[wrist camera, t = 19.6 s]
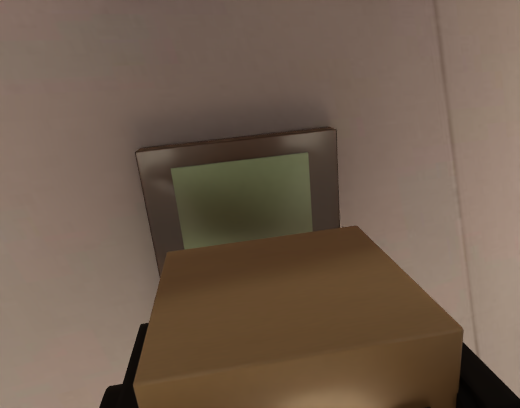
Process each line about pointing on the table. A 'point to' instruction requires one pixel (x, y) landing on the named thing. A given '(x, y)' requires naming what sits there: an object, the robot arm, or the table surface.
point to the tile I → (296, 329)
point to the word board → (239, 189)
